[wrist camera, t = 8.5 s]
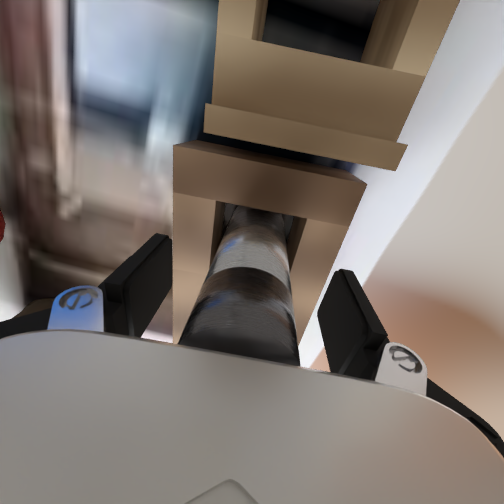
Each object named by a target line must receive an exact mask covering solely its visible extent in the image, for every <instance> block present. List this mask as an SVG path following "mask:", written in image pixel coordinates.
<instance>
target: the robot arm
mask: <svg viewBox="0 0 504 504" xmlns="http://www.w3.org/2000/svg"><path fill="white" fill-rule="evenodd" d="M171 286H172V239H169V236H168V235H163V234H158V233H156V234H154V235H153V236H152V237H151V238H150V239H149V240H148V241H147V242H146V243H145V244H144V245H143V246H142V247H141V248H140V249H138V250H137V251H136V252H135V253H134V254H133V255H132V256H130V257H129V258H128V259H127V260H126V261H125V262H123V263H122V264H121V265H120V266H119V267H118V268H117V269H116V270H115V271H114V272H113V273H112V274H111V275H110V276H109V277H107V278H106V279H105V280H104V281H103V282H102V283H101V284H100V285H99V286H98V287H95V286H89V285H85V286H77V287H73V288H70V289H68V290H65V291H64V292H62V293H61V294H59V295H58V296H57V297H56V298H55V300H54V302H53V305H52V308H48V309H45V310H41V311H38V312H34V313H31V314H27V315H23V316H20V317H16V318H13V319H9V320H6V321H2V322H0V504H504V442H503V440H502V439H501V437H500V436H499V435H498V433H497V432H496V431H495V430H494V429H493V428H492V427H491V426H490V425H489V424H488V423H487V422H486V421H485V420H484V419H482V418H481V417H480V416H478V415H477V414H476V413H474V412H473V411H472V410H470V409H469V408H467V407H466V406H465V405H463V404H462V403H461V402H459V401H458V400H457V399H455V398H454V397H453V396H451V395H450V394H448V393H447V392H446V391H444V390H443V389H442V388H440V387H439V386H438V385H436V384H435V383H434V382H432V381H431V380H430V379H428V378H427V367H426V365H425V364H424V361H423V360H422V359H421V358H420V356H419V355H417V354H416V353H415V352H414V351H413V350H411V349H410V348H408V347H407V346H405V345H402V344H399V343H396V342H390V341H389V339H388V338H387V336H388V334H387V333H386V331H385V329H384V327H383V325H382V324H381V322H380V320H379V318H378V316H377V314H376V313H375V311H374V309H373V307H372V305H371V304H370V302H369V300H368V298H367V296H366V294H365V293H364V291H363V289H362V287H361V285H360V283H359V282H358V280H357V278H356V276H355V274H354V272H353V271H350V270H345V269H340V270H339V271H335V273H334V275H333V277H332V279H331V281H330V284H329V286H328V288H327V291H326V293H325V295H324V297H323V300H322V302H321V304H320V306H319V309H318V313H317V316H318V321H319V325H320V329H321V333H322V338H323V342H324V346H325V350H326V354H327V358H328V363H329V367H330V371H331V372H326V371H321V370H316V369H310V368H305V367H300V366H294V365H289V364H284V363H278V362H273V361H267V360H262V359H257V358H251V357H246V356H240V355H235V354H229V353H224V352H218V351H213V350H207V349H202V348H196V347H190V346H185V345H179V344H173V343H168V342H162V341H156V340H151V339H145V338H141V336H142V334H143V333H144V331H145V329H146V328H147V326H148V325H149V323H150V321H151V320H152V318H153V316H154V315H155V313H156V312H157V310H158V308H159V307H160V305H161V303H162V302H163V300H164V299H165V297H166V295H167V294H168V292H169V290H170V289H171Z"/></svg>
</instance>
